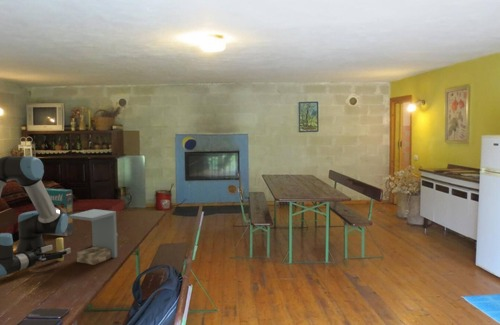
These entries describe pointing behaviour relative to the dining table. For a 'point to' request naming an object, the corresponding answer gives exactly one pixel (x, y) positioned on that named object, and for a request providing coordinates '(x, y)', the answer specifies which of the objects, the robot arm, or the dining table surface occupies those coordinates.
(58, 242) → the peg
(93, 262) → the socket block
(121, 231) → the dining table surface
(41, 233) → the robot arm
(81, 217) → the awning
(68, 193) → the cake mix box
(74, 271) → the dining table surface
